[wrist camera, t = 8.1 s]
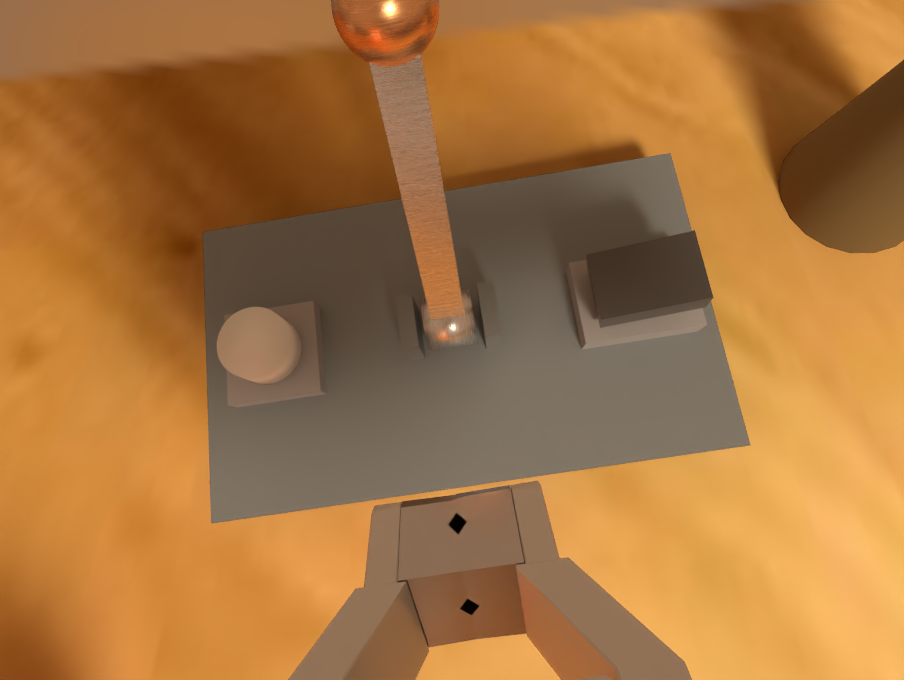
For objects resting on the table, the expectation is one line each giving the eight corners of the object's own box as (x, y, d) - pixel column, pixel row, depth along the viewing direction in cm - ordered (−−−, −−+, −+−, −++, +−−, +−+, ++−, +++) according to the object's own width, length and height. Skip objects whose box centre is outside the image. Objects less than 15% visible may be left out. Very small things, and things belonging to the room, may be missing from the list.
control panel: (235, 519, 22) (181, 528, 18) (225, 250, 25) (175, 210, 21) (727, 447, 21) (778, 441, 18) (656, 178, 24) (687, 122, 20)
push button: (236, 389, 20) (217, 383, 19) (233, 323, 21) (215, 312, 20) (304, 378, 20) (290, 371, 19) (299, 312, 21) (285, 301, 20)
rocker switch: (600, 328, 19) (600, 319, 18) (586, 266, 20) (586, 254, 19) (705, 307, 19) (713, 297, 18) (688, 243, 19) (694, 230, 18)
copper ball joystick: (423, 366, 20) (312, -28, 11) (420, 319, 22) (320, -62, 12) (487, 356, 20) (433, -52, 10) (480, 310, 22) (426, -82, 12)
